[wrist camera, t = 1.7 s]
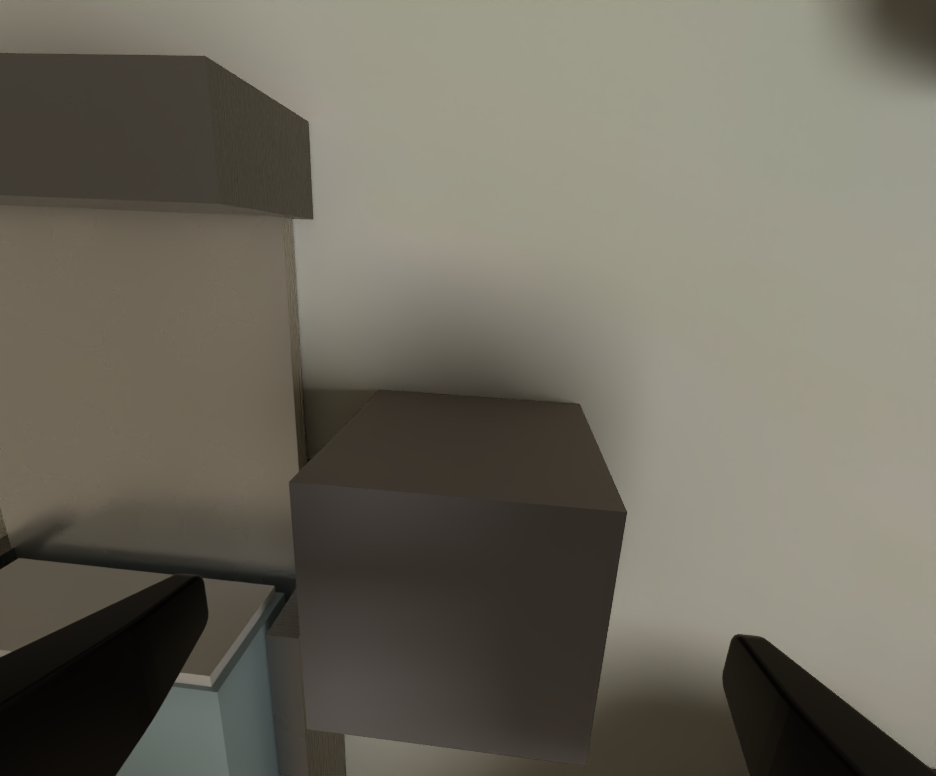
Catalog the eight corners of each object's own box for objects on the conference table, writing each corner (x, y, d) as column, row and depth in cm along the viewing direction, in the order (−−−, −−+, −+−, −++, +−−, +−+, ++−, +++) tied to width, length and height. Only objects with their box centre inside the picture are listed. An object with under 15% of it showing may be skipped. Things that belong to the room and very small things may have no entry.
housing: (579, 403, 11) (626, 512, 7) (555, 603, 13) (579, 806, 8) (380, 389, 12) (288, 481, 7) (382, 585, 13) (309, 768, 9)
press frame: (316, 121, 10) (217, 56, 7) (347, 813, 16) (304, 960, 13) (-112, 110, 11) (-391, 48, 7) (74, 773, 17) (-35, 901, 14)
